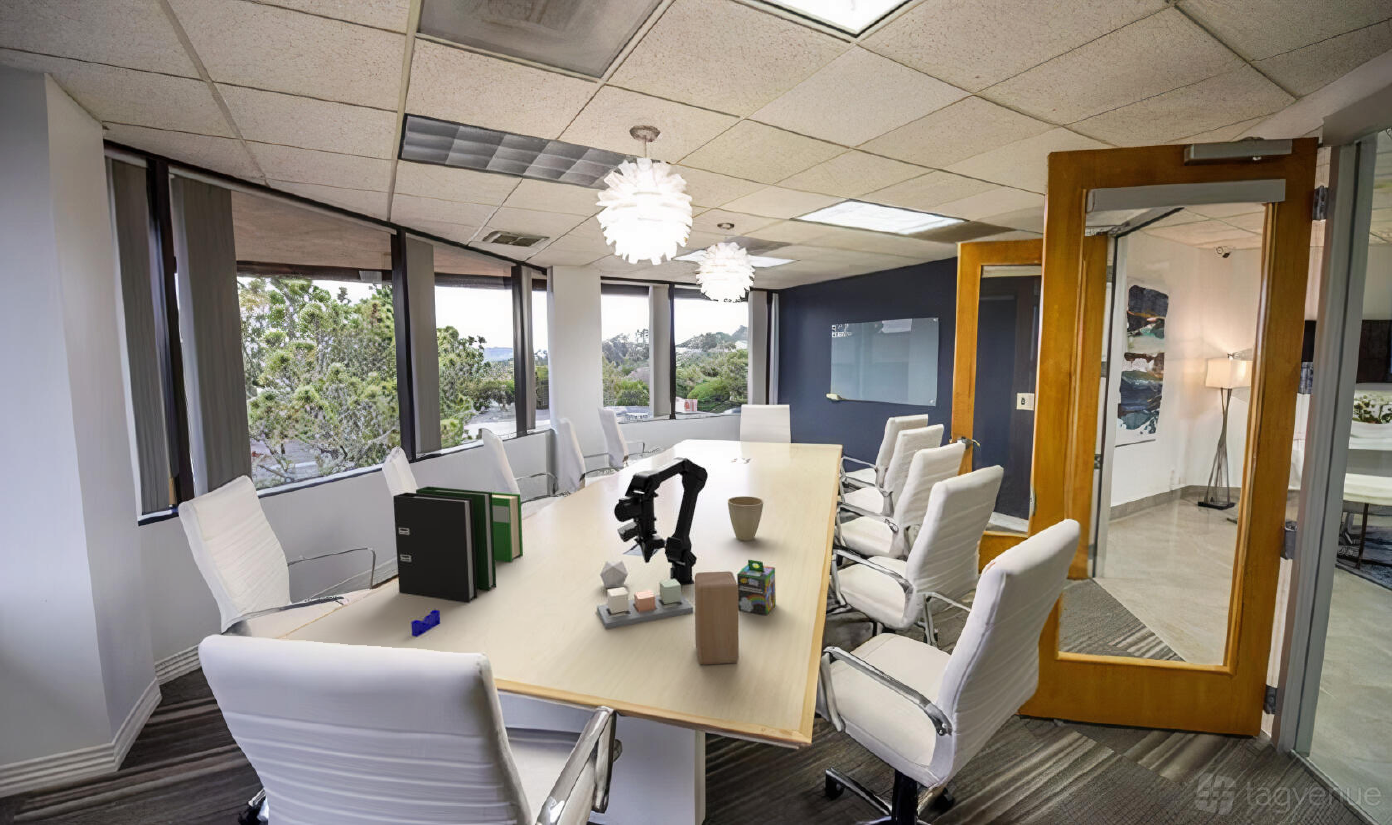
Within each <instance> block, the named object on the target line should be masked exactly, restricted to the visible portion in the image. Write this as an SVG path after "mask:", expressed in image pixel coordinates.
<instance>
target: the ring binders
mask: <svg viewBox="0 0 1392 825" xmlns="http://www.w3.org/2000/svg"><path fill="white" fill-rule="evenodd" d="M492 492H493V491H486V492H484V490H483V491H482V490H471V489H462V488H461V489H458V488H449V487H440V486H439V487H438V486H429V485H428V486H424V487H422V488H417V489H415V492H406V491H405V492H404V493H400V494H396V495H393V497H392V498H393V511H394V513H393V514H394V528H395V529H394V530H395V531H394V533H395V544H396V545H395V547H396V561H397V562H396V564H397V576H398V577H397V581H398V590H399V591H398V594H403V595H409V596H417V597H422V598H423V597H424V598H431V599H438V600H446V601H452V602H458V603H465V604H470V603H471V599H478V591H482V592H490V588H495V589H496V588H497V570H496V560H495V545H494V523H493V500H492Z"/></svg>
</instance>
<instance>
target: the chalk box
mask: <svg viewBox="0 0 1392 825" xmlns="http://www.w3.org/2000/svg"><path fill="white" fill-rule="evenodd" d="M736 576H737V578H736V580H737V581H736V583H737V585H738V611H740V612H741V611H742V612H748V613H752V614H757V615H760V616H764V617H765V616H767V615H768V613H769V612H770V611H771V610H772V608H773V607H774V606H775V605H776V604H777V602H776V600H777V599H776V568H775V567H774V566H768V565H764V562H763V561H761V560H754V559H748V560H747V565H744V567H743V568H742V569H741V570H740V571H739V572H738V573H737V575H736Z"/></svg>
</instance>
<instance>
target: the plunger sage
mask: <svg viewBox="0 0 1392 825" xmlns="http://www.w3.org/2000/svg"><path fill="white" fill-rule="evenodd" d="M681 587H682V585H680V584H679V582H678V581H677V580H676V579H665V580H660V581H659V595H660V598H661V599H662V601H663V602H664V604H665V605H666V604H671V603H677V602H678V601H681V594H682V593H681V592H682V590H681V589H682V588H681Z"/></svg>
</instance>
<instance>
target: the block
mask: <svg viewBox="0 0 1392 825" xmlns="http://www.w3.org/2000/svg"><path fill="white" fill-rule="evenodd" d="M736 580H737V579H736V578H735V576H734V573H733V572H732V571H726V570H725V571H713V572H712V571H705V572H702V571H701V572H696V573H695V575H694V609H695V610H694V623H695V624H694V627H695V628H694V630H695V631H694V634H695V636H694V637H695V638H694V639H695V640H694V641H695V642H694V643H695V649H696V656H697V661H698V663H699V665H718V664H720V665H721V664H734V663H737V662H739V658H740V657H739V655H740V654H739V646H740V645H739V635H740V634H739V627H740V626H739V610H738V585H737V581H736Z"/></svg>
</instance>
